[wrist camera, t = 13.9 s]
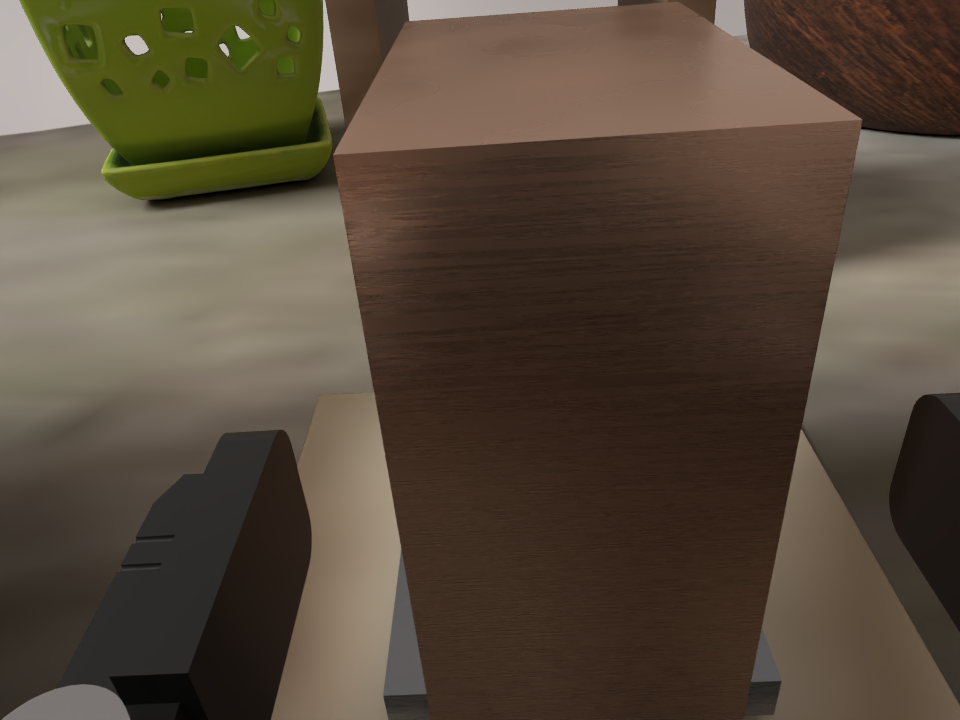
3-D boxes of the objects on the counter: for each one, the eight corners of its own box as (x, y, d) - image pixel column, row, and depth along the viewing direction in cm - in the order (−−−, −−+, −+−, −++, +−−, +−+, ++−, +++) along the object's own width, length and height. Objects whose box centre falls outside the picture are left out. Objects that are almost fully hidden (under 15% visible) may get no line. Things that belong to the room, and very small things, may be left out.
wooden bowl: (829, 44, 64) (853, -99, 58) (1218, 77, 48) (1300, -115, 43) (653, 113, 50) (662, -66, 45) (1118, 191, 34) (1222, -72, 29)
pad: (202, 777, 14) (200, 771, 14) (321, 400, 24) (319, 395, 24) (979, 752, 13) (982, 745, 13) (767, 376, 24) (767, 371, 24)
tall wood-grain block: (384, 782, 13) (230, 161, 7) (433, 340, 26) (391, -19, 20) (792, 769, 13) (971, 112, 7) (640, 328, 26) (659, -39, 20)
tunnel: (374, 308, 29) (294, -188, 21) (399, 211, 38) (349, -169, 29) (690, 289, 29) (736, -225, 20) (643, 196, 37) (662, -195, 29)
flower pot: (360, 188, 41) (317, -83, 34) (88, 229, 39) (-16, -54, 32) (337, 124, 53) (302, -88, 46) (127, 152, 50) (56, -68, 44)
